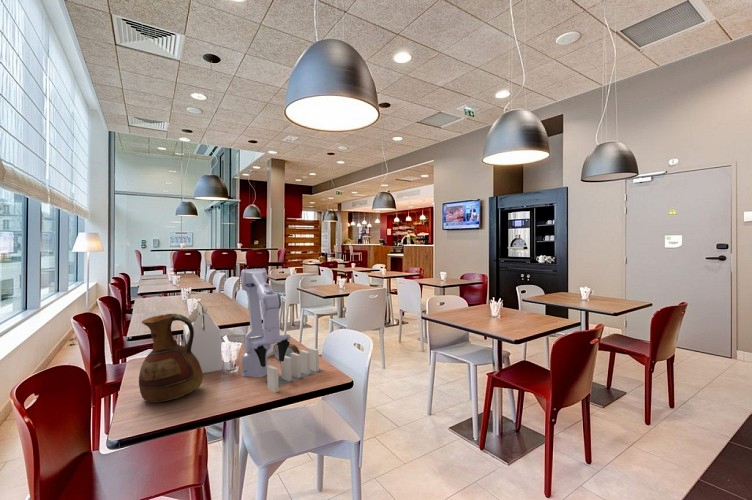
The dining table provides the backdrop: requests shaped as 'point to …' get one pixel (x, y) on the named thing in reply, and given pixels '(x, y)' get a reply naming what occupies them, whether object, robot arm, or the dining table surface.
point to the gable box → (205, 340)
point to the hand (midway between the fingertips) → (272, 363)
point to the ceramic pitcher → (168, 362)
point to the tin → (289, 350)
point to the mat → (283, 382)
